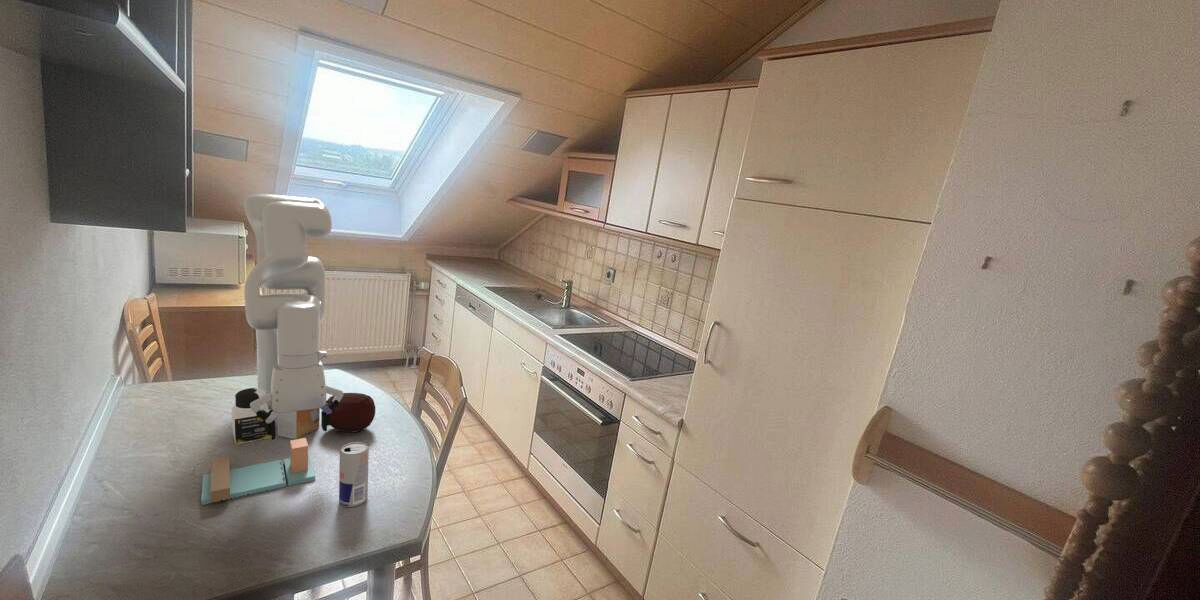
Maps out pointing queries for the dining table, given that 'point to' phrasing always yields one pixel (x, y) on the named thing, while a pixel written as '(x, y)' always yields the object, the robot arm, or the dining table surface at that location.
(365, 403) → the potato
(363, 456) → the energy drink
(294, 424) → the small box
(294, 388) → the robot arm
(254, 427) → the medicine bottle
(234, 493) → the teal plate with bar
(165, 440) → the dining table surface
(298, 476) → the stub
